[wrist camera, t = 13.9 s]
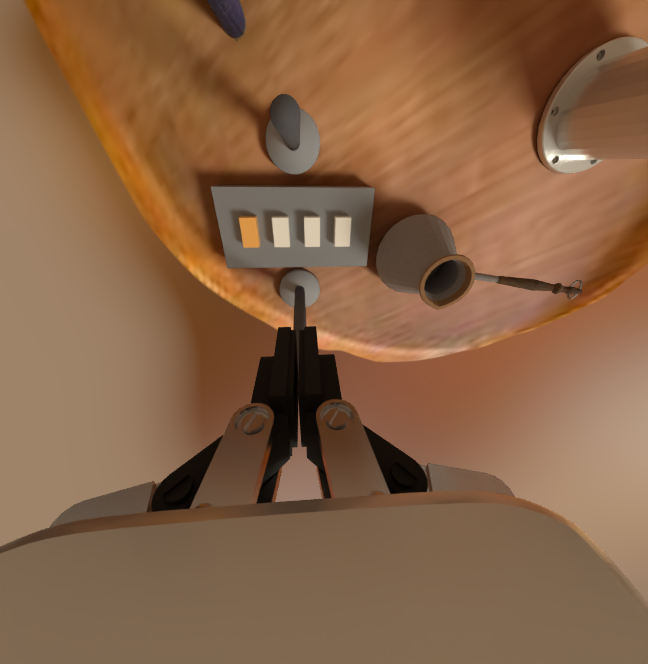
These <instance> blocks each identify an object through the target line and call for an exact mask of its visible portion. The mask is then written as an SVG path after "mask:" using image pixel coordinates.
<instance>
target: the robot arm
mask: <svg viewBox="0 0 648 664" xmlns="http://www.w3.org/2000/svg"><path fill="white" fill-rule="evenodd" d="M537 149H538V153H539V157H540V159H541V161H542V163H543V165H544V166H546V167H547V168H548V169H549V170H551V171H553V172H555V173H562V174H573V173H577V172H582V171H584V170H587V169H589V168H591V167H593V166H595V165H596V164H598V163H600V162H601V161H603V160H606V159H648V43H647V42H646V41H644V40H643V39H641V38H638V37H633V36H629V37H620V38H618V39H615V40H612V41H609V42H607V43H604V44H602V45H600V46H598V47H596V48H594V49H593V50H592V51H590V52H589V53H587V54H586V55H584V56H583V57H582V58H581V59H580V60H579V61H578V62H576V63H575V64H574V65H573V66H572V67H571V69H570V70H569V71H568V72H567V73H566V74H565V75H564V77H563V78H562V79H561V81H560V82H559V84H558V85H557V86H556V88H555V89H554V91H553V93H552V95H551V97H550V98H549V100H548V102H547V104H546V107H545V109H544V112H543V114H542V117H541V121H540V124H539V128H538V136H537ZM298 399H299V415H300V430H301V444H302V447H307V458H308V459H309V460H310V461H311V462H313V463H314V464H315V465H316V466H317V474H318V479H319V484H320V489H321V495H322V499H314V500H300V501H287V502H275V500H276V496H277V491H278V487H279V482H280V477H281V473H282V466H283V465H284V464H285V463H286V462H287V461H288V460H289V459H290V456H292V447H297V441H298ZM0 664H648V602H647V601H646V600H645V598H644V597H643V596H642V595H641V594H640V592H639V591H638V590H637V589H636V588H635V586H634V585H633V584H632V583H631V582H630V580H629V579H628V578H627V577H626V576H625V575H624V573H623V572H622V571H621V570H620V569H619V568H618V567H617V565H615V563H614V562H613V561H612V560H611V559H610V558H609V556H608V555H607V554H606V553H605V552H604V551H603V550H602V549H601V548H600V547H599V546H598V545H597V544H596V543H595V542H594V541H593V540H592V539H591V538H590V537H589V536H588V535H587V534H586V533H585V532H584V531H582V530H581V529H580V528H579V527H577V526H576V525H575V524H574V523H573V522H571V521H569V520H568V519H566V518H565V517H563V516H561V515H560V514H557V513H555V512H553V511H551V510H549V509H547V508H545V507H542V506H540V505H538V504H535V503H532V502H530V501H527V500H524V499H521V498H517V497H515V496H514V495H513V493H512V491H511V489H510V488H509V487H508V486H507V485H506V484H505V483H504V482H503V481H502V480H500V479H499V478H497V477H495V476H494V475H490V474H488V473H483V472H477V471H471V470H466V469H460V468H454V467H448V466H442V465H436V464H431V463H428V464H427V466H425V465H419V464H418V463H417V462H416V461H415V460H414V459H412V458H411V457H409V456H408V455H406V454H405V453H404V452H402V451H401V450H399V449H398V448H396V447H395V446H393V445H392V444H390V443H389V442H387V441H386V440H384V439H383V438H382V437H380V436H379V435H377V434H376V433H374V432H373V431H371V430H370V429H368V428H367V427H365V426H364V425H362V423H361V420H360V418H359V415H358V413H357V411H356V409H355V407H354V406H353V405H351V404H350V403H349V402H347V401H344V400H342V398H341V392H340V386H339V380H338V374H337V367H336V362H335V356H334V354H330V355H318V343H317V331H316V326H311V327H304V330H299V376H298V359H297V342H296V330H291V327H279V328H278V334H277V340H276V347H275V354H274V356H272V357H261V359H260V363H259V368H258V372H257V377H256V381H255V386H254V390H253V395H252V401H251V404H247V405H245V406H243V407H241V408H239V409H238V410H237V411H236V412H235V413H234V415H233V416H232V418H231V419H230V422H229V424H228V426H227V428H226V430H225V433H224V435H222V436H221V437H220V438H218V439H217V440H216V441H214V442H213V443H212V444H210V445H209V446H208V447H206V448H205V449H203V450H202V451H201V452H200V453H198V454H197V455H195V456H194V457H193V458H191V459H190V460H189V461H187V462H186V463H185V464H183V465H182V466H181V467H179V468H178V469H177V470H175V471H174V472H173V473H171V474H170V475H169V476H168V477H167V478H165V479H164V480H163V481H162V482H160V483H157V484H155V482H154V481H152V482H148V483H145V484H141V485H138V486H134V487H131V488H127V489H123V490H120V491H117V492H113V493H109V494H106V495H103V496H99V497H95V498H92V499H88V500H85V501H82V502H80V503H77V504H75V505H73V506H72V507H70V508H69V509H67V510H66V511H64V512H63V513H62V514H61V515H60V516H59V517H58V518H57V519H56V520H55V521H54V522H53V523H52V524H51V526H50V527H49V528H46V529H43V530H40V531H37V532H35V533H32V534H29V535H27V536H24V537H21V538H19V539H16V540H14V541H12V542H10V543H7V544H5V545H3V546H0Z"/></svg>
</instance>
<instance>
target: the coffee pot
mask: <svg viewBox="0 0 648 664" xmlns="http://www.w3.org/2000/svg"><path fill="white" fill-rule="evenodd" d="M376 267H377V271H378V275H379V277H380V278H381V280H382V282H383V283H384V284H386V285H387V286H388V287H389V288H391V289H393V290H395V291H398V292H404V293H414V294H420V296H421V298H422V300H423V301H424V302H425V303H426V304H428V305H429V306H431V307H433V308H435V309H437V310H439V309H442V308H445V307H448V306H450V305H452V304H454V303H456V302H458V301H459V300H461V299H462V298H463V297H464V296H465V295H466V294H467V293H468V292H469V290H470V289H471V287H472V285H473V283H474V280H481V281H488V282H496V283H498V284H503V285H508V286H513V287H518V288H523V289H528V290H539V291H552V292H553V293H554V294H557V293H560V292H563V293H566V294H567V297H568V298H569V299H573V298H574V297H576V296H577V295H578V294H581V293H582V290H581V288H582V284H583V283H582V281H581V280H576V281H575V282H573V284H572V285H571V286H570V287H564V286H562V284H560V283H557V284H554V285H553V284H550V283H546V282H542V281H539V280H535V279H525V278H514V277H504V276H493V275H487V274H481V273H475V268H474V265H473V263H472V262H471V260H470V259H469V258H467V257H465V256H463V255H458V254H457V252H456V247H455V243H454V238H453V236H452V233H451V230H450V228H449V227H448V226H447V225H446V223H445V222H444V221H443V220H441V219H439V218H438V217H436V216H433V215H428V214H420V215H413V216H410V217H407V218H405V219H402V220H401V221H399V222H398V223H397V224H395V225H394V226H393V227H392V228H391V229H390V230H389V231H388V232H387V233H386V234H385V236H384V237H383V239H382V241H381V243H380V244H379V248H378V251H377V254H376ZM578 281H579V282H580V287H579V289H578V288H575V287H572V286H573V285H574V284H575V283H576V282H578ZM569 294H574V296H573V297H571V298H570V297H569Z"/></svg>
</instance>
